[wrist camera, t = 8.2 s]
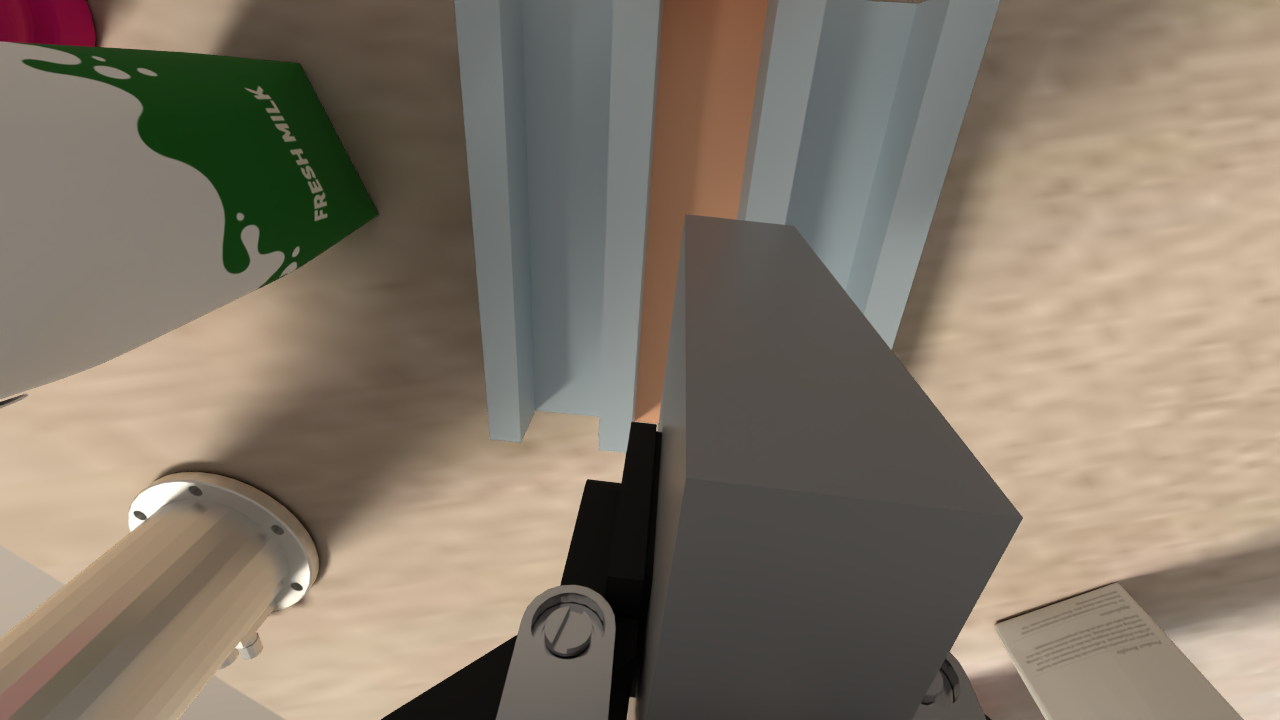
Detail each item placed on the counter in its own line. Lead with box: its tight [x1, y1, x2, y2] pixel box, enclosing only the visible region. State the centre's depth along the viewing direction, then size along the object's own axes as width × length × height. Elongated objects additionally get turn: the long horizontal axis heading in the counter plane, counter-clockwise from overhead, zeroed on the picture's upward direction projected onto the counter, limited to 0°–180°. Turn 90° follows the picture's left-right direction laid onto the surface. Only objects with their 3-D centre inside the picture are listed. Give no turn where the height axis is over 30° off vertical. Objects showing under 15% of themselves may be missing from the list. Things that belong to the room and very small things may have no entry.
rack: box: [454, 0, 1000, 453], centre depth 23 cm, size 21×18×6 cm
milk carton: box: [0, 42, 379, 408], centre depth 17 cm, size 9×9×20 cm
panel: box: [627, 214, 1023, 720], centre depth 10 cm, size 10×2×9 cm, turn 175°
